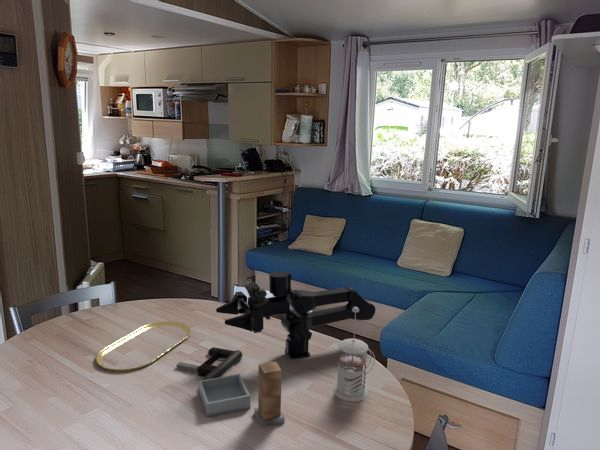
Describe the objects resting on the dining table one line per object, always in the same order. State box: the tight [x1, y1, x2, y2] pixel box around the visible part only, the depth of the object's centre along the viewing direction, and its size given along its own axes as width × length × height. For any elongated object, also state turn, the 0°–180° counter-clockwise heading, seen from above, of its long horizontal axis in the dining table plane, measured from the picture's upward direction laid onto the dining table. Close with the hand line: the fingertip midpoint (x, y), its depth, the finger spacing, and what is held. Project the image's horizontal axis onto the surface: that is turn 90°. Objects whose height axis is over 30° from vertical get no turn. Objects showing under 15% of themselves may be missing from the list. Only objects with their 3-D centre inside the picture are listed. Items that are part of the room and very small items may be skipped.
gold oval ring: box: [95, 320, 192, 372], centre depth 150 cm, size 19×35×2 cm, turn 159°
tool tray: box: [198, 373, 251, 418], centre depth 121 cm, size 11×11×4 cm
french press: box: [332, 307, 376, 403], centre depth 126 cm, size 10×12×25 cm
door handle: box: [176, 346, 243, 380], centre depth 137 cm, size 3×20×16 cm
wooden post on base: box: [253, 361, 286, 429], centre depth 114 cm, size 6×6×14 cm
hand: (220, 316), depth 134 cm, fingers open, 9 cm apart
